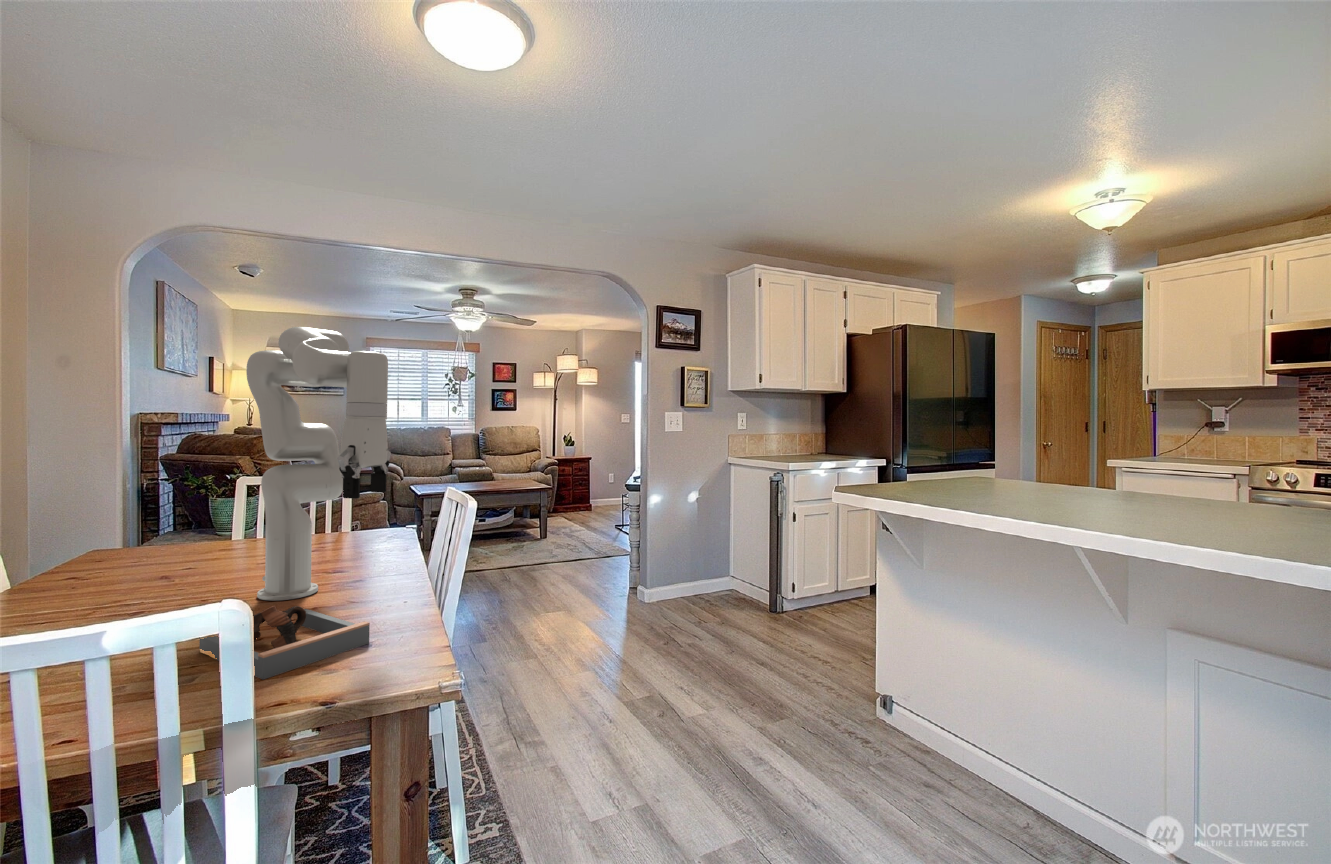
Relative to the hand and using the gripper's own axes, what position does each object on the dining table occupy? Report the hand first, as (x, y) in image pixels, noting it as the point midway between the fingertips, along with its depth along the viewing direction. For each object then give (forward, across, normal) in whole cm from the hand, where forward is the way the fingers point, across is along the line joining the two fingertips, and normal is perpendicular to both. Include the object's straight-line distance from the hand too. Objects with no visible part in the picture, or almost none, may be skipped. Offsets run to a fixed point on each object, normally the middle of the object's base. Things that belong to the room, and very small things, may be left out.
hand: (365, 495), depth 121 cm
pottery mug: (+28, +10, -12) cm, 32 cm away
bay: (+28, +11, -9) cm, 31 cm away
